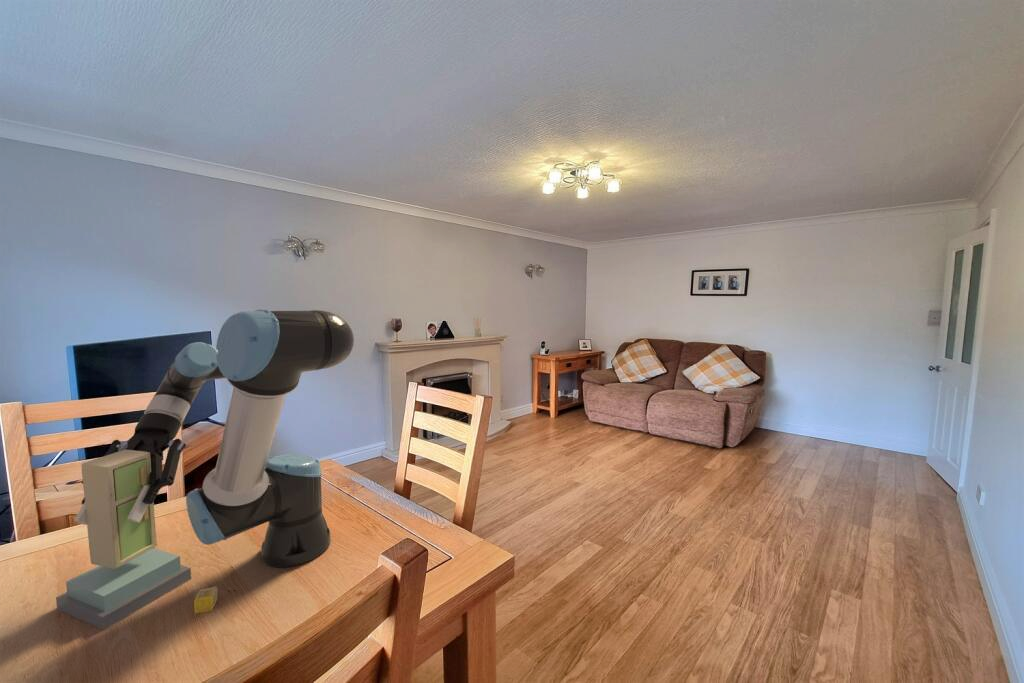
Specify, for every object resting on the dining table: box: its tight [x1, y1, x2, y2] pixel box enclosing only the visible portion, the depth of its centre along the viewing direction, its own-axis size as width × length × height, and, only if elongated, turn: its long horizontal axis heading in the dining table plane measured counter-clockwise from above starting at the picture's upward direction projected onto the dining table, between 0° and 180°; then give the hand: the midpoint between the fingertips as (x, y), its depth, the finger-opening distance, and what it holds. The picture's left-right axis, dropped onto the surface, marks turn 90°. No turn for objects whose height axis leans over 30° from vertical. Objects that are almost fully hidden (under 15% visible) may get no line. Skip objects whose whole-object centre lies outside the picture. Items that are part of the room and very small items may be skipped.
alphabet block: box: [193, 586, 218, 614], centre depth 81 cm, size 3×3×3 cm
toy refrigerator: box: [81, 450, 158, 569], centre depth 83 cm, size 8×7×21 cm
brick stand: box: [55, 547, 192, 630], centre depth 84 cm, size 15×15×6 cm
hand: (107, 521), depth 80 cm, fingers closed on toy refrigerator, 9 cm apart
